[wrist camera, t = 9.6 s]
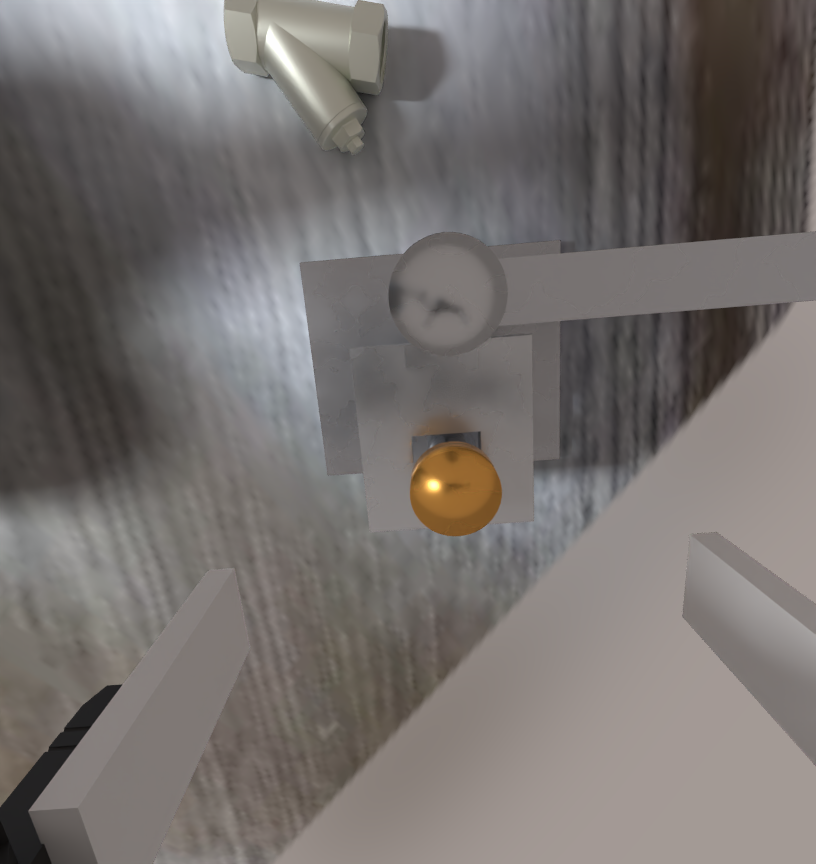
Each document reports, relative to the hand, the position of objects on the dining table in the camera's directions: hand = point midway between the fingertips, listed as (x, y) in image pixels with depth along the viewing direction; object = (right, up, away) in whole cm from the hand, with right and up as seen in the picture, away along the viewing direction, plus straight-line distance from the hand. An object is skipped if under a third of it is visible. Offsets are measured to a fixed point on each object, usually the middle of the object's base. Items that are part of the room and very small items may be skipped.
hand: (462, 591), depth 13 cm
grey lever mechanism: (+4, +9, +18) cm, 20 cm away
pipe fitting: (-7, +25, +14) cm, 29 cm away
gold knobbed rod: (+1, +5, +18) cm, 18 cm away
